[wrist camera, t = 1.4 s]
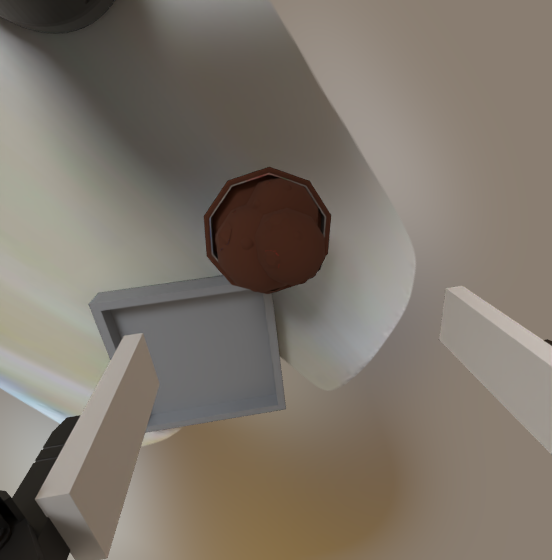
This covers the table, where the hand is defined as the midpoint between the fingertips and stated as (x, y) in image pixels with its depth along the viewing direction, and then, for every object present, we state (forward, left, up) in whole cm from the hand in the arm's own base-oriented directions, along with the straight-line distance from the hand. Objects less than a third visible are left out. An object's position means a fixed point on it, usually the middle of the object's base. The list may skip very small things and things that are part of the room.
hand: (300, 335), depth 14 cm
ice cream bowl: (0, 0, -25) cm, 25 cm away
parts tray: (+17, -10, -24) cm, 31 cm away
